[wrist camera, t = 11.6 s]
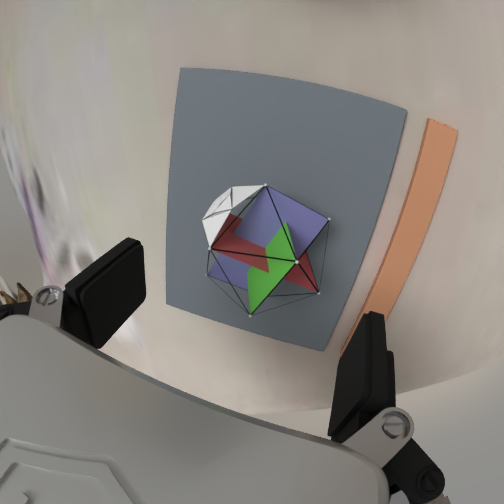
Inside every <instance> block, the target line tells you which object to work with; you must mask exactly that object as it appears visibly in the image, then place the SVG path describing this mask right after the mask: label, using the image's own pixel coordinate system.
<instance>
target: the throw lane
mask: <svg viewBox="0 0 504 504" xmlns="http://www.w3.org/2000/svg"><path fill="white" fill-rule="evenodd" d="M406 111H407V110H406V109H403V108H400V107H398V106H395V105H392V104H389V103H386V102H383V101H379V100H376V99H373V98H370V97H366V96H363V95H359V94H356V93H352V92H348V91H344V90H340V89H336V88H332V87H328V86H324V85H319V84H315V83H310V82H305V81H300V80H294V79H289V78H283V77H277V76H270V75H264V74H256V73H248V72H239V71H229V70H217V69H201V68H180V75H179V82H178V89H177V97H176V105H175V114H174V123H173V133H172V143H171V155H170V168H169V183H168V202H167V227H166V304H168V305H171V306H173V307H176V308H179V309H182V310H185V311H188V312H191V313H193V314H196V315H199V316H202V317H205V318H208V319H211V320H214V321H218V322H221V323H224V324H227V325H230V326H233V327H237V328H240V329H243V330H246V331H250V332H253V333H256V334H260V335H263V336H267V337H270V338H274V339H277V340H281V341H284V342H288V343H292V344H295V345H299V346H303V347H307V348H311V349H315V350H319V351H324V349H325V347H326V345H327V343H328V341H329V339H330V336H331V334H332V332H333V330H334V327H335V325H336V323H337V321H338V318H339V316H340V314H341V312H342V309H343V307H344V304H345V302H346V300H347V297H348V295H349V292H350V290H351V288H352V285H353V283H354V280H355V278H356V275H357V272H358V270H359V267H360V265H361V262H362V259H363V257H364V254H365V251H366V248H367V246H368V243H369V240H370V237H371V234H372V231H373V229H374V226H375V223H376V220H377V217H378V214H379V211H380V207H381V204H382V201H383V198H384V195H385V191H386V188H387V185H388V181H389V178H390V175H391V171H392V168H393V164H394V160H395V157H396V153H397V149H398V145H399V141H400V137H401V133H402V129H403V125H404V120H405V116H406ZM457 133H458V130H456V129H454V128H451V127H449V126H447V125H444V124H442V123H440V122H437V121H435V120H433V119H430V118H428V119H427V123H426V127H425V131H424V136H423V140H422V144H421V147H420V151H419V155H418V159H417V162H416V166H415V169H414V173H413V176H412V179H411V183H410V186H409V189H408V192H407V195H406V198H405V201H404V204H403V207H402V210H401V213H400V216H399V219H398V222H397V225H396V227H395V230H394V233H393V236H392V238H391V241H390V244H389V246H388V249H387V251H386V254H385V256H384V259H383V261H382V264H381V266H380V269H379V271H378V274H377V276H376V278H375V281H374V283H373V285H372V288H371V290H370V292H369V294H368V297H367V299H366V301H365V303H364V305H363V308H362V310H361V312H360V314H359V316H358V318H357V320H356V322H355V324H354V327H353V329H352V331H351V333H350V335H349V337H348V339H347V341H346V343H345V344H344V346H343V348H342V350H341V352H340V357H341V356H342V354H343V352H344V350H345V348H346V347H347V345H348V343H349V341H350V339H351V337H352V335H353V333H354V331H355V329H356V327H357V325H358V323H359V321H360V319H361V317H362V315H363V314H364V313H366V314H368V313H369V311H373V312H377V313H381V314H383V315H384V319H385V320H386V318H387V317H388V315H389V313H390V311H391V309H392V307H393V305H394V303H395V301H396V299H397V297H398V295H399V293H400V291H401V289H402V287H403V285H404V282H405V280H406V278H407V276H408V274H409V272H410V269H411V267H412V265H413V263H414V260H415V258H416V256H417V253H418V251H419V249H420V246H421V244H422V241H423V239H424V236H425V234H426V231H427V229H428V226H429V224H430V221H431V218H432V216H433V213H434V210H435V207H436V204H437V202H438V199H439V196H440V193H441V190H442V187H443V183H444V180H445V177H446V174H447V170H448V167H449V164H450V160H451V157H452V153H453V149H454V145H455V141H456V137H457ZM265 183H266V184H267V186H269V187H271V188H273V189H275V190H277V191H279V192H281V193H282V194H284V195H286V196H288V197H290V198H292V199H294V200H295V201H297V202H299V203H301V204H303V205H305V206H306V207H308V208H310V209H312V210H314V211H315V212H317V213H319V214H321V215H323V216H324V217H326V218H330V219H331V220H330V221H329V222H328V223H327V225H326V226H325V227H324V229H323V230H322V231H321V233H320V234H319V235H318V237H317V238H316V239H315V240H314V239H313V240H314V242H313V243H312V244H311V246H310V247H309V248H308V250H307V254H308V258H309V261H310V264H311V267H312V270H313V273H314V277H315V280H316V283H317V286H318V290H319V287H320V290H319V292H320V294H319V295H318V294H315V295H314V294H305V293H317V292H315V291H312V290H310V289H307V288H305V287H302V286H300V285H297V284H295V283H292V282H290V281H287V280H285V279H283V280H282V281H281V282H280V283H279V285H278V286H277V287H276V288H275V289H274V290H273V291H272V293H271V294H270V295H269V296H271V297H267V298H266V299H265V301H264V302H263V303H262V304H261V305H260V306H259V307H258V308H257V310H256V311H255V312H254V313H253V314H255V315H253V314H252V317H249V314H250V307H249V294H248V291H247V290H245V289H242V288H239V287H237V286H234V285H232V286H233V287H234V289H235V291H236V292H237V294H238V296H239V297H240V299H241V301H242V302H243V304H244V305H245V307H246V309H247V310H248V312H249V314H248V312H247V311H246V309H245V307H244V306H243V304H242V302H241V301H240V299H239V298H238V296H237V294H236V293H235V291H234V289H233V288H232V286H231V284H228V283H226V282H223V281H221V280H218V279H215V278H213V277H210V276H209V277H210V278H211V279H212V280H213V281H214V282H215V283H214V282H213V281H212V280H211V279H210V278H209V277H208V276H206V275H205V274H206V273H208V272H209V270H210V269H211V267H212V265H213V264H214V262H215V261H216V259H217V258H218V256H219V255H220V253H219V252H216V251H214V250H211V251H212V252H213V254H214V256H215V257H216V259H215V258H214V256H213V254H212V253H211V251H210V255H209V263H208V253H209V250H208V248H209V245H208V242H207V238H206V235H205V231H204V227H203V224H202V219H203V217H204V216H205V214H206V213H207V211H208V210H209V208H210V206H211V205H212V203H213V202H214V200H216V199H217V198H218V197H219V196H221V195H222V194H223V193H224V192H226V191H227V190H228V189H229V188H231V187H232V186H249V185H264V184H265ZM262 188H263V187H262ZM262 188H261V189H262ZM261 189H259V190H258V191H256V192H255V193H254V194H252V195H251V196H249V197H248V198H250V199H245V200H244V201H243V202H241V203H240V204H238V205H237V206H236V207H234V208H233V209H232V210H231V212H230V213H231V214H233V215H235V216H238V215H239V213H240V212H241V211H242V210H243V209H244V208H245V207H246V206H247V204H248V203H249V202H250V201H251V200H252V199H253V198H251V197H255V195H256V194H257V193H258V192H259V191H260V190H261ZM260 193H261V192H260ZM260 193H259V194H260ZM259 194H258V195H257V196H259ZM256 199H257V197H255V199H254V200H253V201H252V202H251V203H250V204H249V205H248V206H247V208H246V209H245V210H244V211H243V212H242V213H241V214H240V216H239V217H240V218H242V219H243V218H244V217H245V215H246V214H247V212H248V210H249V209H250V207H251V206H252V204H253V203H254V202H255V200H256ZM328 225H329V229H328ZM327 233H328V236H327ZM313 240H312V241H313ZM326 240H327V244H326ZM309 245H310V244H309ZM309 245H308V246H309ZM308 246H307V247H308ZM325 248H326V251H325ZM306 249H307V248H306ZM324 255H325V258H324ZM323 262H324V265H323ZM207 263H208V271H207ZM322 268H323V271H322ZM321 275H322V278H321ZM320 281H321V284H320ZM224 291H225V292H226V293H227V294H228V295H229V296H230V297H231V298H232V299H233V300H232V299H231V298H230V297H229V296H228V295H227V294H226V293H225V292H224ZM290 294H304V295H290ZM274 295H288V296H274ZM311 295H312V296H311ZM308 296H309V297H308ZM305 297H306V298H305ZM302 298H303V299H302ZM299 299H301V300H299ZM296 300H298V301H296ZM293 301H295V302H293ZM290 302H292V303H290ZM287 303H289V304H287ZM284 304H286V305H284ZM239 305H240V306H241V307H242V308H243V309H244V310H245V311H246V312H247V313H246V312H245V311H244V310H243V309H242V308H241V307H240V306H239ZM281 305H283V306H281ZM278 306H280V307H278ZM275 307H277V308H275ZM272 308H273V309H272ZM269 309H270V310H269ZM266 310H267V311H266ZM263 311H264V312H263ZM260 312H261V313H260ZM256 313H258V314H256Z"/></svg>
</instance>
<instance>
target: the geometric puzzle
mask: <svg viewBox="0 0 504 504" xmlns="http://www.w3.org/2000/svg"><path fill="white" fill-rule="evenodd" d="M262 187H263V188H262ZM261 188H262V189H261ZM259 189H261V190H260V191H259V192H258V193H257V194H256V195H255V197H257V199H256V200H255V202H254V203H253V204H252V206H251V207H250V209H249V210H248V212H247V214H246V215H245V217H244V218H243V219H242V218H240V217H239V216H240V214H241V213H242V212H243V211H244V210H245V209H246V208H247V206H248V205H249V204H250V203H251V202H252V201H253V200H254V199H255V197H251V198H253V199H252V200H251V201H250V202H249V203H248V204H247V206H246V207H245V208H244V209H243V210H242V211H241V212H240V213H239V215H238V216H235V215H233V214H231V213H230V212H231V210H232V209H233V208H234V207H236V206H237V205H238V204H240V203H241V202H243V201H244V200H245V199H250V198H248V197H249V196H251V195H252V194H254V193H255V192H256V191H258V190H259ZM260 192H261V193H260ZM259 193H260V194H259ZM258 194H259V196H257V195H258ZM330 220H331V219H330V218H326V217H324V216H323V215H321V214H319V213H317V212H315V211H314V210H312V209H310V208H308V207H306V206H305V205H303V204H301V203H299V202H297V201H295V200H294V199H292V198H290V197H288V196H286V195H284V194H282V193H281V192H279V191H277V190H275V189H273V188H271V187H269V186H267V184H266V183H265V184H264V185H249V186H232V187H231V188H229V189H228V190H227V191H226V192H224V193H223V194H222V195H221V196H219V197H218V198H217V199H216V200H214V202H213V203H212V205H211V206H210V208H209V210H208V211H207V213H206V214H205V216H204V217H203V219H202V224H203V227H204V231H205V235H206V238H207V242H208V245H209V248H208V250H209V253H208V263H209V255H210V251H211V250H214V251H216V252H219V253H220V255H219V256H218V258H217V259H216V257H215V256H214V254H213V252H212V251H211V253H212V254H213V256H214V258H215V259H216V261H215V262H214V264H213V265H212V267H211V269H210V270H209V272H208V273H206V274H205V275H206V276H208V277H209V276H210V277H213V278H215V279H218V280H221V281H223V282H226V283H228V284H231V286H232V285H234V286H237V287H239V288H242V289H245V290H247V291H248V294H249V307H250V314H249V312H248V310H247V309H246V307H245V305H244V304H243V302H242V301H241V299H240V297H239V296H238V294H237V292H236V291H235V289H234V287H233V286H232V288H233V289H234V291H235V293H236V294H237V296H238V298H239V299H240V301H241V302H242V304H243V306H244V307H245V309H246V311H247V312H248V314H249V317H252V314H253V313H254V312H255V311H256V310H257V308H258V307H259V306H260V305H261V304H262V303H263V302H264V301H265V299H266V298H267V297H271V296H269V295H270V294H271V293H272V291H273V290H274V289H275V288H276V287H277V286H278V285H279V283H280V282H281V281H282V280H283V279H285V280H287V281H290V282H292V283H295V284H297V285H300V286H302V287H305V288H307V289H310V290H312V291H315V292H317V293H305V294H314V295H315V294H318V295H319V294H320V292H319V290H320V287H319V290H318V286H317V283H316V280H315V277H314V273H313V270H312V267H311V264H310V261H309V258H308V254H307V250H308V248H309V247H310V246H311V244H312V243H313V242H314V240H315V239H316V238H317V237H318V235H319V234H320V233H321V231H322V230H323V229H324V227H325V226H326V225H327V223H328V222H329V221H330ZM328 229H329V225H328ZM327 236H328V233H327ZM313 239H314V240H313ZM312 240H313V241H312ZM309 244H310V245H309ZM326 244H327V240H326ZM308 245H309V246H308ZM307 246H308V247H307ZM306 248H307V249H306ZM325 251H326V248H325ZM324 258H325V255H324ZM208 263H207V271H208ZM323 265H324V262H323ZM322 271H323V268H322ZM210 277H209V278H210ZM321 278H322V275H321ZM210 279H211V278H210ZM211 280H212V279H211ZM212 281H213V280H212ZM213 282H214V281H213ZM214 283H215V282H214ZM320 284H321V281H320ZM224 292H225V291H224ZM225 293H226V292H225ZM226 294H227V293H226ZM227 295H228V294H227ZM290 295H304V294H290ZM228 296H229V295H228ZM274 296H288V295H274ZM311 296H312V295H311ZM229 297H230V296H229ZM308 297H309V296H308ZM230 298H231V297H230ZM305 298H306V297H305ZM231 299H232V298H231ZM302 299H303V298H302ZM232 300H233V299H232ZM299 300H301V299H299ZM296 301H298V300H296ZM293 302H295V301H293ZM290 303H292V302H290ZM287 304H289V303H287ZM284 305H286V304H284ZM239 306H240V305H239ZM281 306H283V305H281ZM240 307H241V306H240ZM278 307H280V306H278ZM241 308H242V307H241ZM275 308H277V307H275ZM242 309H243V308H242ZM272 309H273V308H272ZM243 310H244V309H243ZM269 310H270V309H269ZM244 311H245V310H244ZM246 311H245V312H246ZM266 311H267V310H266ZM247 312H246V313H247ZM263 312H264V311H263ZM260 313H261V312H260ZM256 314H258V313H256ZM253 315H255V314H253Z"/></svg>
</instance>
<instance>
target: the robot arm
mask: <svg viewBox="0 0 504 504" xmlns="http://www.w3.org/2000/svg"><path fill="white" fill-rule="evenodd" d="M65 288H66V289H65V290H64V291H62V289H61V288H59V287H58V286H54V285H49V286H45V287H42V288H41V289H39V290H37V291H36V293H35V294H34V296H33V298H32V301H26V302H19V303H12V304H5V305H1V306H0V504H451V503H450V501H449V498H448V496H446V497H444V495H443V493H442V491H443V489H444V486H445V478H444V475H443V473H442V472H441V470H440V469H439V468H438V467H437V465H436V464H435V463H434V462H433V461H432V460H431V459H430V458H429V457H428V455H427V454H426V453H425V452H424V451H423V450H422V449H421V448H420V446H419V445H418V444H417V443H416V442H415V441H414V440H413V439H412V435H413V433H414V423H413V420H412V418H411V417H410V415H409V414H408V413H407V412H405V411H404V410H402V409H400V408H396V403H395V402H396V399H395V371H394V356H393V352H392V351H389V350H387V346H386V331H385V319H384V315H383V314H381V313H377V312H373V311H369V313H368V314H366V313H364V314H363V315H362V317H361V319H360V321H359V323H358V325H357V327H356V329H355V331H354V333H353V335H352V337H351V339H350V341H349V343H348V345H347V347H346V348H345V350H344V352H343V354H342V356H341V358H340V360H339V363H338V368H337V376H336V383H335V390H334V397H333V404H332V410H331V416H330V422H329V428H328V436H331V440H328V439H325V438H321V437H318V436H314V435H311V434H308V433H304V432H300V431H296V430H293V429H289V428H286V427H282V426H279V425H276V424H272V423H269V422H266V421H263V420H259V419H256V418H253V417H250V416H247V415H244V414H241V413H238V412H235V411H233V410H230V409H227V408H224V407H221V406H219V405H216V404H213V403H211V402H208V401H206V400H203V399H201V398H198V397H196V396H193V395H191V394H188V393H186V392H183V391H181V390H179V389H176V388H174V387H172V386H170V385H167V384H165V383H163V382H161V381H158V380H156V379H154V378H152V377H150V376H148V375H146V374H144V373H142V372H139V371H137V370H135V369H133V368H131V367H129V366H127V365H125V364H124V363H122V362H120V361H118V360H116V359H114V358H112V357H110V356H108V355H106V354H105V353H103V352H101V351H99V350H97V349H100V348H102V347H103V346H104V344H105V343H106V342H107V341H108V340H109V339H110V338H111V337H112V335H113V334H114V333H115V332H116V331H117V330H118V329H119V328H120V327H121V326H122V324H123V323H124V322H125V321H126V320H127V319H128V318H129V317H130V316H131V315H132V313H133V312H134V311H135V310H136V309H137V308H138V307H139V306H140V305H141V304H142V303H143V302H144V300H145V298H146V283H145V268H144V249H143V246H142V245H141V242H140V241H138V240H135V239H132V238H129V237H128V238H126V239H124V240H123V241H121V242H120V243H119V244H117V245H116V246H115V247H113V248H112V249H111V250H109V251H108V252H107V253H105V254H104V255H103V256H101V257H100V258H99V259H97V260H96V261H95V262H93V263H92V264H91V265H90V266H88V267H87V268H86V269H84V270H83V271H82V272H81V273H79V274H78V275H77V276H76V277H74V278H73V279H72V280H71V281H69V282H68V283H67V284H66V285H65Z"/></svg>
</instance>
